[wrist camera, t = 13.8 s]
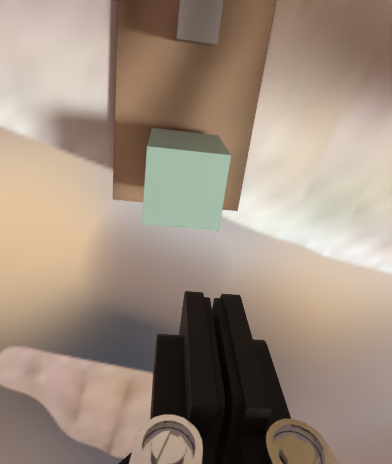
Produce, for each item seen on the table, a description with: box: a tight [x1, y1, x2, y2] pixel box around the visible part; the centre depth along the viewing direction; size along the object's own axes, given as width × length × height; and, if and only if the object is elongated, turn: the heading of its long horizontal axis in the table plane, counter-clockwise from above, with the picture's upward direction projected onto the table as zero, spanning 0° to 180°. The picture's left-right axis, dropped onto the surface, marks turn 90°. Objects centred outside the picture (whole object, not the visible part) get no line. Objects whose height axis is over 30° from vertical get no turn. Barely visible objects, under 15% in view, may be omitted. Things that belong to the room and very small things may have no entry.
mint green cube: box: [142, 128, 231, 231], centre depth 26 cm, size 5×5×7 cm
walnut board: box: [113, 0, 276, 211], centre depth 26 cm, size 11×18×5 cm, turn 173°
